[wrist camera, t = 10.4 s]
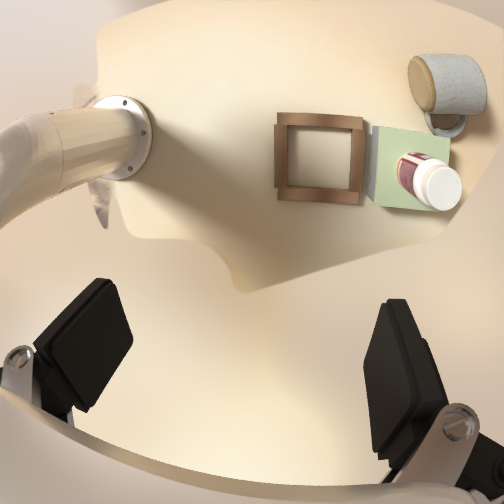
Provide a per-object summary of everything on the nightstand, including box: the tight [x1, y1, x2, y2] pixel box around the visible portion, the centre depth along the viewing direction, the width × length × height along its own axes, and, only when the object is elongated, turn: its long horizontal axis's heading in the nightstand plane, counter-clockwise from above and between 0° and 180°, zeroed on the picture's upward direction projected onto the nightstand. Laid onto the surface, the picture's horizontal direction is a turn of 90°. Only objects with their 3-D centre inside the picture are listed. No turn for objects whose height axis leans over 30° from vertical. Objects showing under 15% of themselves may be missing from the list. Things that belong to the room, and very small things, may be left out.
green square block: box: [368, 126, 451, 212], centre depth 29 cm, size 9×9×4 cm
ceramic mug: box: [408, 54, 487, 138], centre depth 22 cm, size 11×8×8 cm
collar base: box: [274, 113, 366, 204], centre depth 32 cm, size 11×11×1 cm
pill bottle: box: [396, 151, 462, 211], centre depth 24 cm, size 5×5×8 cm
